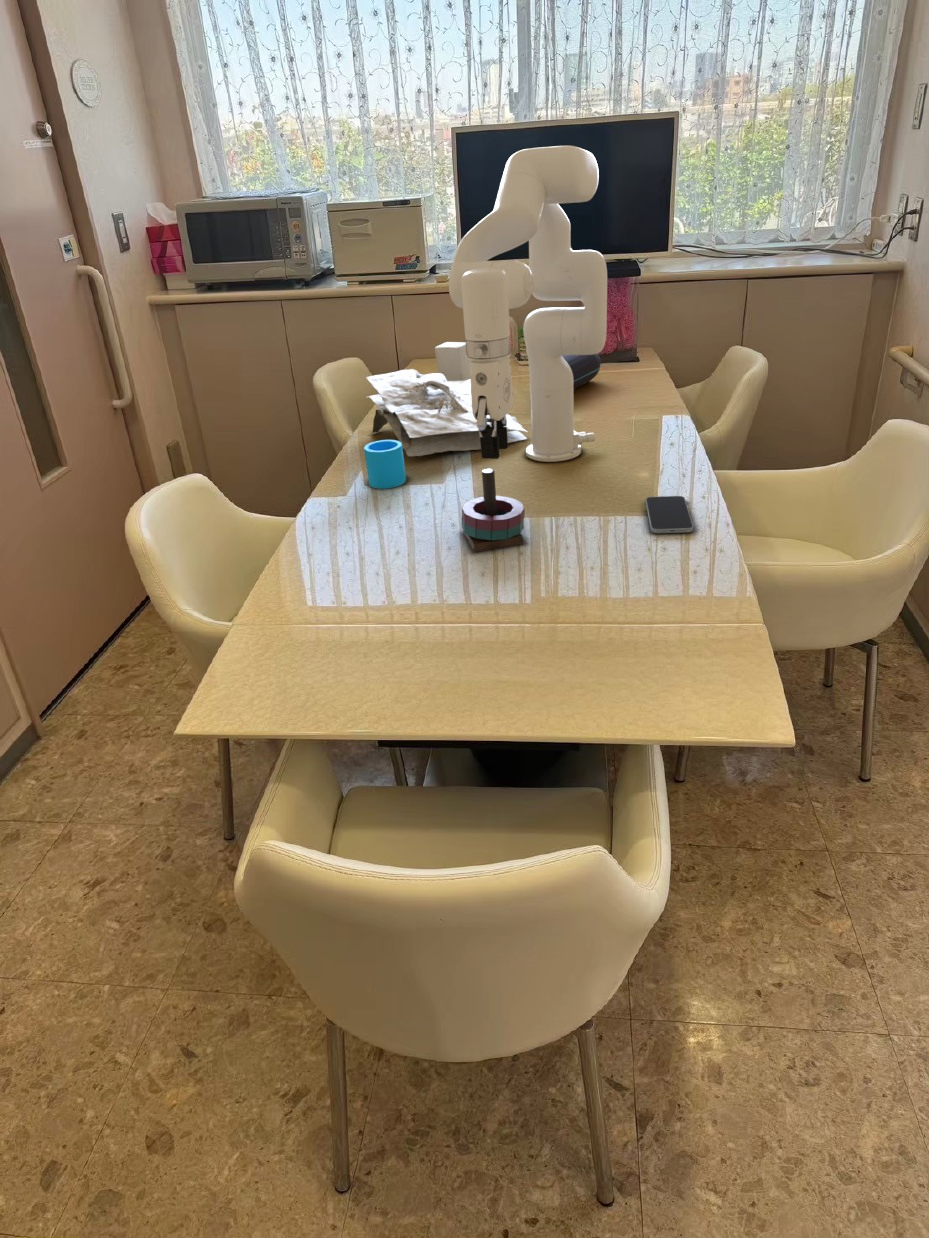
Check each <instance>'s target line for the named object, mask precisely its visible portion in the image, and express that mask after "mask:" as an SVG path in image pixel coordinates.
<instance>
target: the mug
mask: <svg viewBox="0 0 929 1238" xmlns="http://www.w3.org/2000/svg"><path fill="white" fill-rule="evenodd" d="M402 447H403V446H402V443H401V442H400V441H399V440H395V439H381V440H376V441H372V442H369V443H367V444H365V446H364V447H363V450H364V451H363V452H364V457H365V464H366V472H367V478H368V484H369V487H372V488H375V489H391V488H396V487H400V486H402V485H403V484H405V483H406V482H407V476H406V468H405V467H406V466H405V459H404V451H403V450H404V449H403V448H402Z"/></svg>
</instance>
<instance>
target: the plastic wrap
mask: <svg viewBox="0 0 929 1238" xmlns="http://www.w3.org/2000/svg"><path fill="white" fill-rule="evenodd" d="M365 378H366V379H367V381H368V382H369V383H370V384H371V386H372V387H373V388H374V389H375V390H376V391H377V392H378V393H377V394H373V395H367V398H369V399H371V401H372V402H373V403H374V405H375V406H376V407H377V409H375V415H374V417H373V423H372V434H373V433H374V434H375V433H379V431H380V430H382V429H383V427H384V426H386V425H387V424H388V425H389V427H390V428H391V429H392V431H393V434H394V436H396V438H397V439H398V441H399V442H401V443H402V449H403V450H404V451H405V453H406V456H407V457H416V456H417V457H423V456H425V455H426V456H428V455H432V454H435V453H444V452H450V451H453V452H455V451H458V452H460V451H463V452H468V451H474V450H475V451H479V450H481V442H480V435H479V429H478V428H477V420H476V419H475V418H474V417H473V411H472V399H471V379H468V380H463V381H460V380H459V381H447V379H446V377H445V376H444V375H443V374H441V373H438V372H437V373H427V374H426V373H425V374H421V373H420V372H418V370H416V369H414V368H410V369H400V370H397V371H393V372H388V373H379V374H375V375H370V376H365ZM486 418H490V417H489V415H487V417H486ZM506 419H507V425H506V426H504V427H507V440H508V444H510V443H514V442H518V441H522V440H523V441H524V440H528V438H527V436H525V434H523V433H521V431H523V432H526V433H528V431H527V430H526V429H525V427H524V426H523V425H522V424H520V422H519V421H518V419H517V417H516V416H512V415H510V413H509V412H508V413H507V414H506ZM487 424H488V425H490V426H491V424H490V422H487Z"/></svg>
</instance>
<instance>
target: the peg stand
mask: <svg viewBox="0 0 929 1238" xmlns="http://www.w3.org/2000/svg"><path fill="white" fill-rule="evenodd" d="M495 475H496V474H495V469H493V468H484V469H482V470H481V479H482V480H481V481H482V492H483V497H484V509H485V515H488V516H497V505H496V496H497V491H496V490H497V489H496V476H495ZM462 533H463V535H464V537H465V538H466V540H467V542H468V544H469V545H470V547H471V548H472V550H473V552H474V553H478V552H484V551H490V550H495V549H500V548H501V549H503V548H507V547H514V546H520V545H524V536H523V535H522V532H521V533H520V534H518V535H516V536H513V537H511V538H507V539H501V540H484V539H476V538H474V537H472V536H469V535H467V534H465V533H464V531H463V530H462Z"/></svg>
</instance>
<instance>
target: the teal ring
mask: <svg viewBox="0 0 929 1238" xmlns="http://www.w3.org/2000/svg"><path fill="white" fill-rule="evenodd" d="M506 513H508V512H505V511H501V510H497V515H504V514H506ZM479 514H481V515H485V511H482V512H479ZM461 528H462V532H463V531H464V533H465V534H467V535H469V536H472V537H474V538H476V539H484V540H501V539H507V538H511V537H513V536H516V535H518V534H520V533H521V534H522V531H523V530H524V528H525V518H524V519H523V521H522V522H521V524H520V525H517V526H515V527H513V528H510V529H506V530H497V531H488V530H480V529H475V528H473V527H470V526H468V525H466V524H465V523H464V521H463V519H462V518H461ZM464 533H463V534H464Z"/></svg>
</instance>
